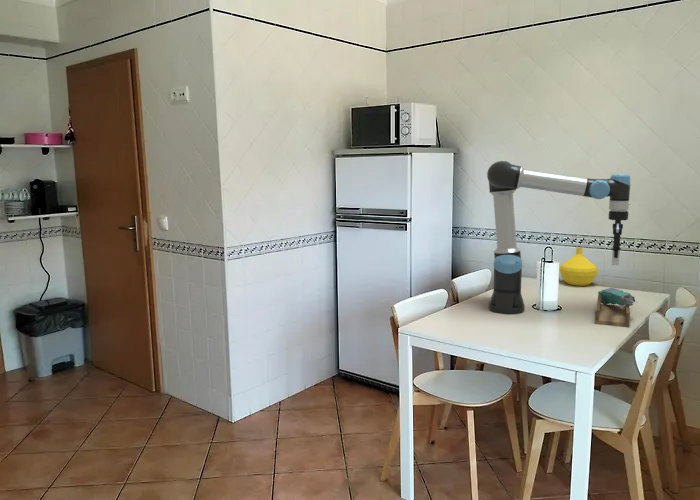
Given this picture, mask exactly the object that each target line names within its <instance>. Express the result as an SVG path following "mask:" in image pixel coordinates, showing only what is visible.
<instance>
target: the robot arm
mask: <svg viewBox="0 0 700 500" xmlns="http://www.w3.org/2000/svg"><path fill="white" fill-rule="evenodd" d="M486 176H487V181H488V187H489V188H488V190H489V193H490V195H492V196H493V208H494V209H493V211H494V220H495V221H494V224H495V239H496V249H495V250H494V251H493V254H494V255H493V256H494V257H493V258H494V261H493V288H492V291H493V292H492V295H491V297H490V299H489V303H488V310H490V311H492V312H494V313H498V314H506V315H507V314H509V315H510V314H513V315H515V314H521V313H523V312H525V311H526V310H525V308H526V307H525V302H524V299H523V296H522V277H523V276H522V272H523V271H522V270H523V259H522V255H521V254H522V253H521V249H520V248H518V246H517V235H516V231H517V230H516V220H515V219H516V218H515V207H514V206H515V205H514V202H515V201H514V193H515V192H516V191H517V190H518V189H520V188H525V189H532V190H537V191H538V190H539V191H540V190H541V191H545V192H553V193H558V194H559V193H560V194H567V195H574V196H578V197H579V196H580V197H585V198H592V199H594V200H602V199H604V198H607V197H609V203H608V205H609V206H608V209H609V211H608V220H611V221H614V223H612V235H613V245H612V248H611V249H610V251H612V256H611V257H612V258H611V265H612V266H619V265H620V250H622V248H621V246H620V245H621V235H622V234H623V231H622V230H623V228H624V225H623V223H622V221H627V220H629V211H628V210H629V207H630V206H631V205H632V204H631V202H630V193H631V175H630V174H626V173H621V174H620V173H614V174H611V175H610V178H586V177H581V176H575V175H568V174H561V173H553V172H548V171H547V172H546V171H539V170H531V169H526V168H524V167H523V166H521V165H515V164H512V163H511V162H508V160H507V161H506V160H499V161H496V162H494V163H492V164H491V165H490V166H489V167H488V170H487V171H486Z"/></svg>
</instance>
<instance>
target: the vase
mask: <svg viewBox="0 0 700 500" xmlns="http://www.w3.org/2000/svg"><path fill="white" fill-rule="evenodd" d="M583 250H584V249H583V248H582V247H576V251H575V252H576V253H575V254H574V256H572V257H570V258H569V259H567V260H566V261H565V262H563V263H561V264H560V266H559V272H560V276H561V278H562V280H563V281H564V282H565V283H566V284H568V285H569V286H574V287H585V286H588V285H590V284H592V282H593V281H594V280H595V279H596V277H597V275H598V271H599V270H598V267H597V266H596V264H595V263H593V262H592V261H590V260H589V259H588V258H587V257H585V256H584V254H583Z"/></svg>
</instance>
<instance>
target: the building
mask: <svg viewBox="0 0 700 500" xmlns="http://www.w3.org/2000/svg"><path fill="white" fill-rule="evenodd" d="M597 293H598V295H601V304H608V305H619V306H625V305H626V306H629V307H630V306H634V303H636V304H638V302H636V299H635V296H633V295H632V294H631V293H630V292H627V291H624V290H622V289H619V288H614V287H609V288H605V289H601V290H599V291H598V292H597Z"/></svg>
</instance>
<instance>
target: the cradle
mask: <svg viewBox="0 0 700 500" xmlns="http://www.w3.org/2000/svg"><path fill="white" fill-rule="evenodd" d="M630 310H631V309H630V306H626V305H624V306H621V305H618V304H614V305H613V304H602V303H601V295H599V294H598V295H597V301H596V309H595V319H594V321H595V323H594V324H597V325H603V324H604V325H603V326H615V327H624V328H625V327H626V328H630V317H631V311H630Z"/></svg>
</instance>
